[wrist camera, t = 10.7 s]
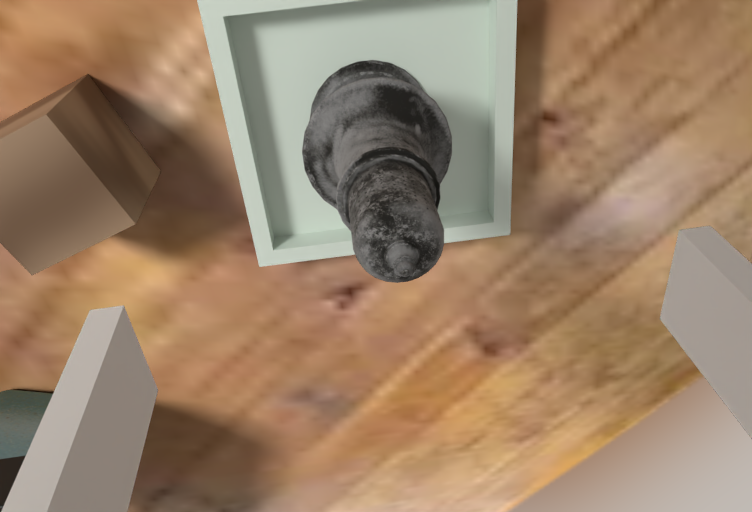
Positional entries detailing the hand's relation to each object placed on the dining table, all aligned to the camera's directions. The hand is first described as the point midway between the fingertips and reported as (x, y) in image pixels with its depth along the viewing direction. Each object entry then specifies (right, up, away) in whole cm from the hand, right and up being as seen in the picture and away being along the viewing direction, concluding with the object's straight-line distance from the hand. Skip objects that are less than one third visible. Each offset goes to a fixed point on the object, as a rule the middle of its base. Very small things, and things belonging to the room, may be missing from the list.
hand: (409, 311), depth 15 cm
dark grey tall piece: (-1, +7, +12) cm, 14 cm away
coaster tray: (-1, +8, +13) cm, 15 cm away
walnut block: (-14, +6, +13) cm, 20 cm away
